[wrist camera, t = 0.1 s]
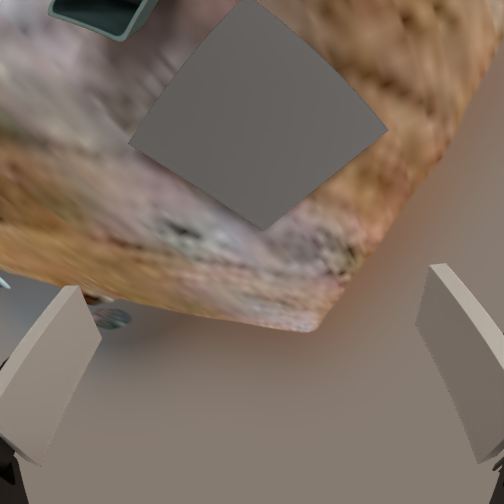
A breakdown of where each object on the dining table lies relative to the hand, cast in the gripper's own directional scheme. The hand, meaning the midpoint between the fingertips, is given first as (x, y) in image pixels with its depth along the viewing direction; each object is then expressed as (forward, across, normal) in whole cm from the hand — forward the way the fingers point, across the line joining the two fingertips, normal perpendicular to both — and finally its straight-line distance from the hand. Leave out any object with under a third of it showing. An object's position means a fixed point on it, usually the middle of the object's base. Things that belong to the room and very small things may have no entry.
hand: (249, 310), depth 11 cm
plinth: (+28, 0, +5) cm, 28 cm away
